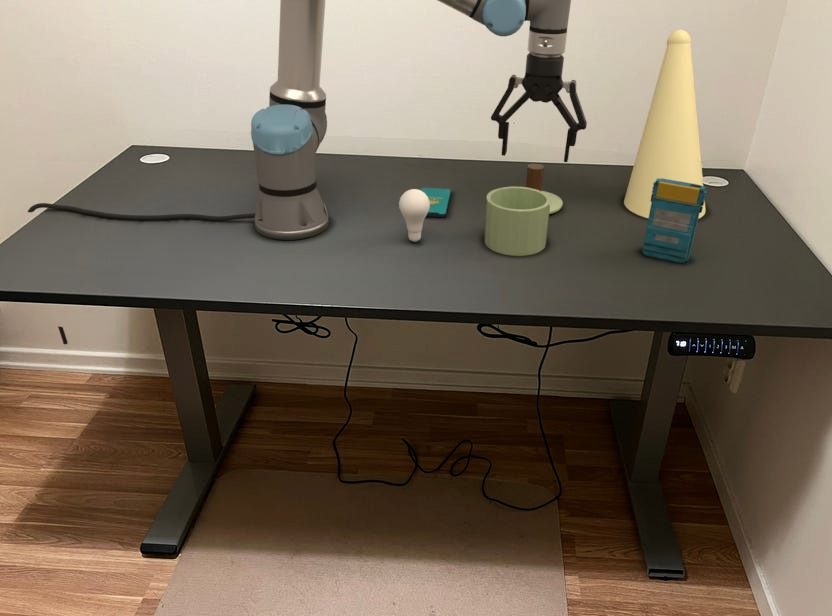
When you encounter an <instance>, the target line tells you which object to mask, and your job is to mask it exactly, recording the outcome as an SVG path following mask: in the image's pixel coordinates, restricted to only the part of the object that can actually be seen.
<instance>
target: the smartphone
mask: <svg viewBox="0 0 832 616" xmlns="http://www.w3.org/2000/svg"><path fill="white" fill-rule="evenodd" d="M420 190H421V191H422V192H424V193H425V194H426V195H427V197H428V199H429V202H430V208H429V211H428V213H427V215H426V217H433V218H445V217H446V216H447V213H448V208H449V204H450V199H451V194H452V190H451V189H450V188H436V187H435V188H434V187H433V188H432V187H421V188H420Z"/></svg>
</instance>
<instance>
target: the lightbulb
mask: <svg viewBox="0 0 832 616" xmlns="http://www.w3.org/2000/svg"><path fill="white" fill-rule="evenodd" d="M398 208H399V211H400V214H401V215H402V217H403V218H404V220H405V221H404V222H405V225H406V230H407V236H408V239H409V241H411V242H413V243H417V242H418V241H420V240H421V239H422V230H423V224H424V221H425V219H426V217H427V216H426V215H427V213H428V211H429V208H430V202H429V199H428V197H427V195H426V194H425V193H424V192H422V191H421V189H418V188H411V189H408V190H406V191H405V192H403V194H402V195H401V196H400V198H399V201H398Z"/></svg>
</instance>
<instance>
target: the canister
mask: <svg viewBox="0 0 832 616" xmlns="http://www.w3.org/2000/svg"><path fill="white" fill-rule="evenodd" d="M550 203H551V199H550V197H549V196H548V195H547V194H545V193H544V192H541V191H539V190H536V189H532V188H527V187H526V186H504V187H498V188H496V189H492V190H491V191H489V192H488V193H487V195H486V199H485V217H484V234H483V235H484V237H483V240H484V241H483V242H484V244H485V246H486V247H487V248H488V249H490V250H491V251H493V252H495V253H498V254H501V255H505V256H513V257H524V256H531V255H535V254H538V253H540V252H542V251H543V250H544V249H545V248H546V245H547V240H548V231H549V222H550V221H549V220H550V214H549V212H550Z"/></svg>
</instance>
